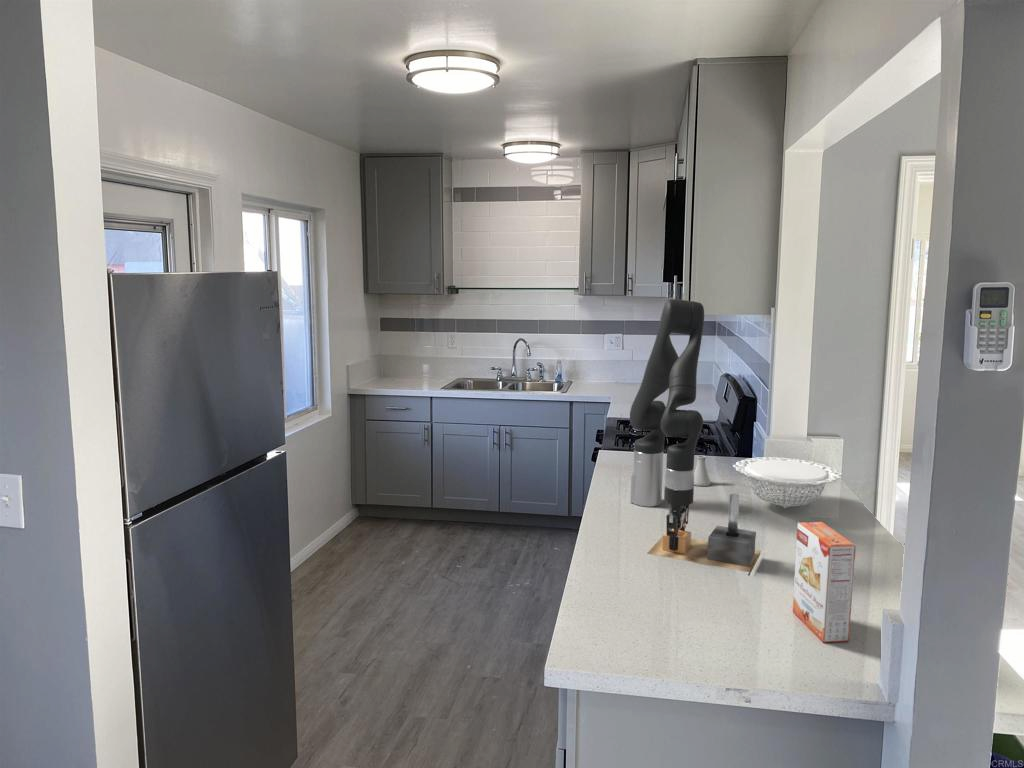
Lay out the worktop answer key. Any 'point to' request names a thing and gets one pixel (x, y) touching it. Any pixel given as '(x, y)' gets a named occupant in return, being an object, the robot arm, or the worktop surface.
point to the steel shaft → (733, 515)
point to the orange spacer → (683, 541)
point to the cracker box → (824, 581)
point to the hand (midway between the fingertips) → (676, 545)
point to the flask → (701, 472)
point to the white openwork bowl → (787, 479)
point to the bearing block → (718, 550)
